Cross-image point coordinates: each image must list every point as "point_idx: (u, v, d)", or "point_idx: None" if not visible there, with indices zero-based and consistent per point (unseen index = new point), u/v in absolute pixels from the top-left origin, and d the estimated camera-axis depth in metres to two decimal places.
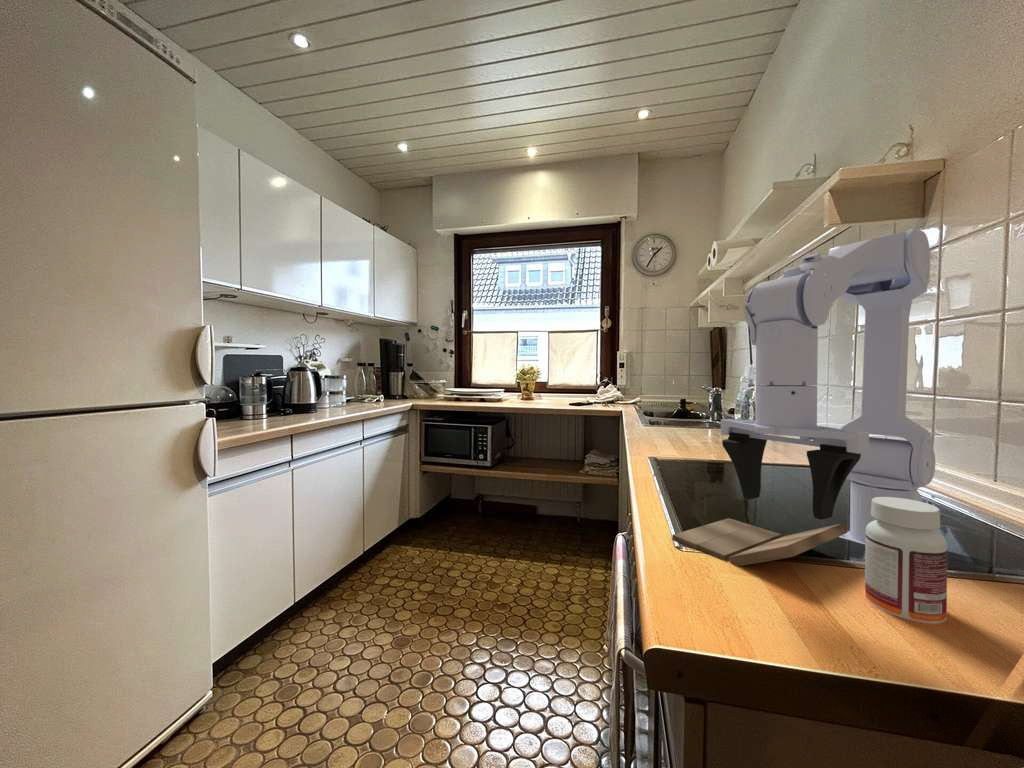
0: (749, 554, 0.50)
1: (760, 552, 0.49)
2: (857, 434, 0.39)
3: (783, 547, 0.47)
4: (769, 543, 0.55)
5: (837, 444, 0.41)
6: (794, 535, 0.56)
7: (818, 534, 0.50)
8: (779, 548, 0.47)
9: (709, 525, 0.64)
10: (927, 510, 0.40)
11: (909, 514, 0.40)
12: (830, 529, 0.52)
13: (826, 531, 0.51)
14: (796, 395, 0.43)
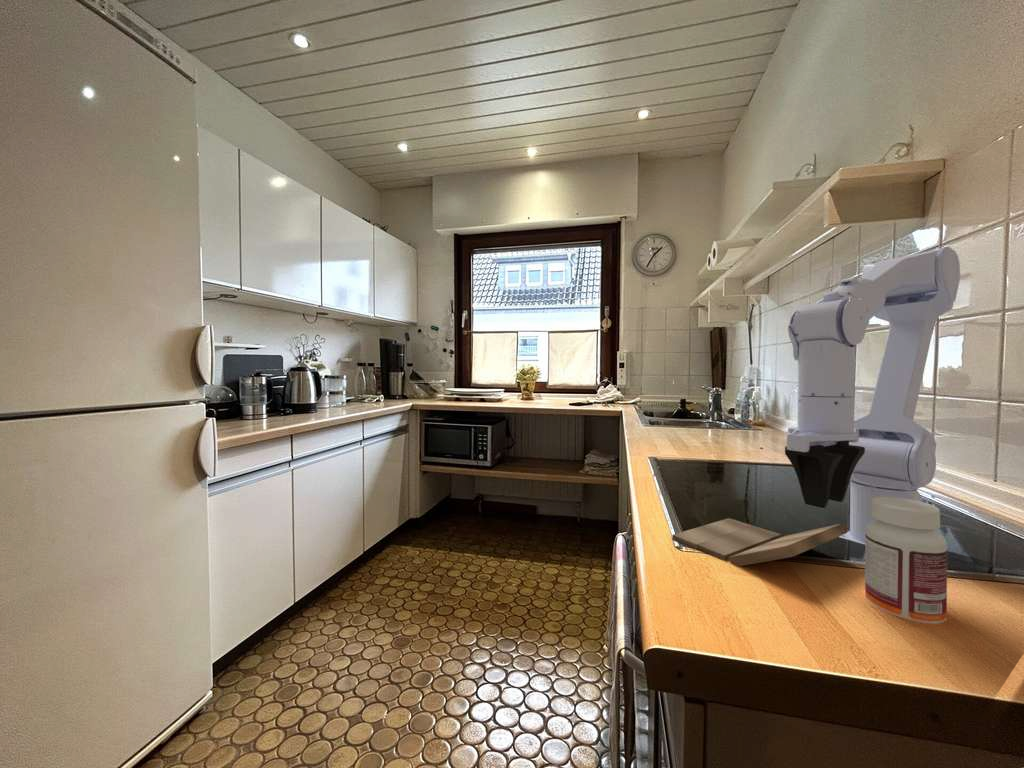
0: (749, 554, 0.50)
1: (760, 552, 0.49)
2: (787, 434, 0.49)
3: (783, 547, 0.47)
4: (769, 543, 0.55)
5: None
6: (794, 535, 0.56)
7: (818, 534, 0.50)
8: (779, 548, 0.47)
9: (709, 525, 0.64)
10: (927, 510, 0.40)
11: (909, 514, 0.40)
12: (830, 529, 0.52)
13: (826, 531, 0.51)
14: (800, 403, 0.52)
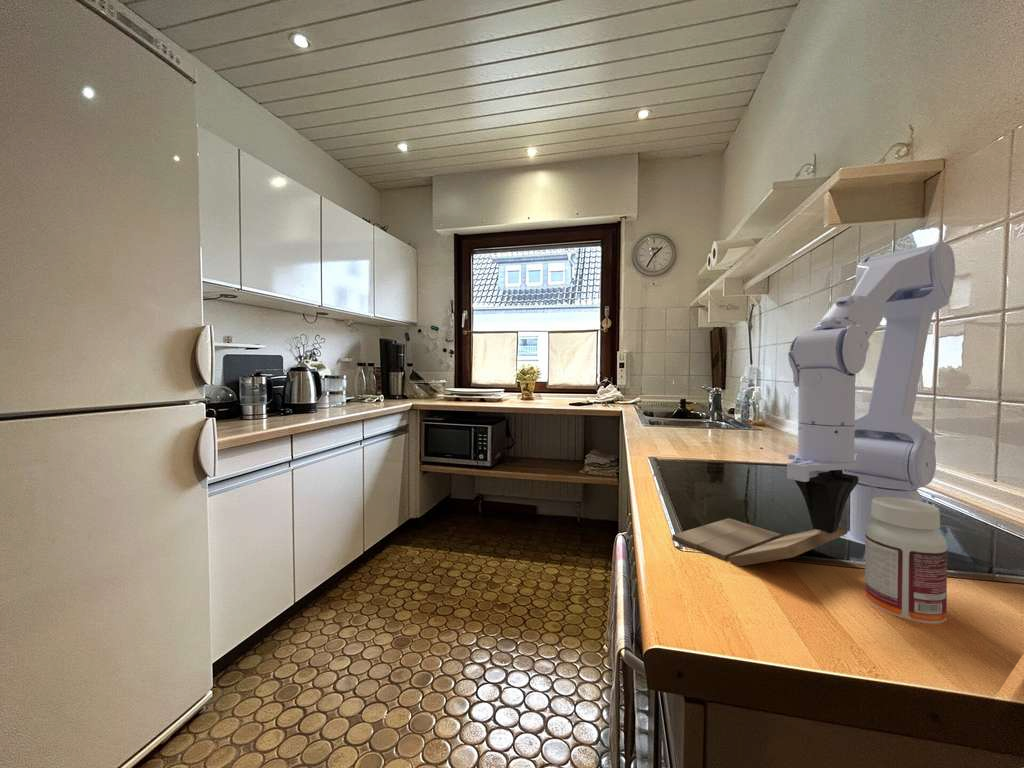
0: (749, 554, 0.50)
1: (760, 552, 0.49)
2: (787, 463, 0.49)
3: (783, 548, 0.47)
4: (769, 543, 0.55)
5: None
6: (794, 535, 0.56)
7: (818, 535, 0.50)
8: (779, 549, 0.47)
9: (709, 525, 0.64)
10: (927, 510, 0.40)
11: (909, 514, 0.40)
12: None
13: (826, 532, 0.51)
14: (800, 430, 0.52)
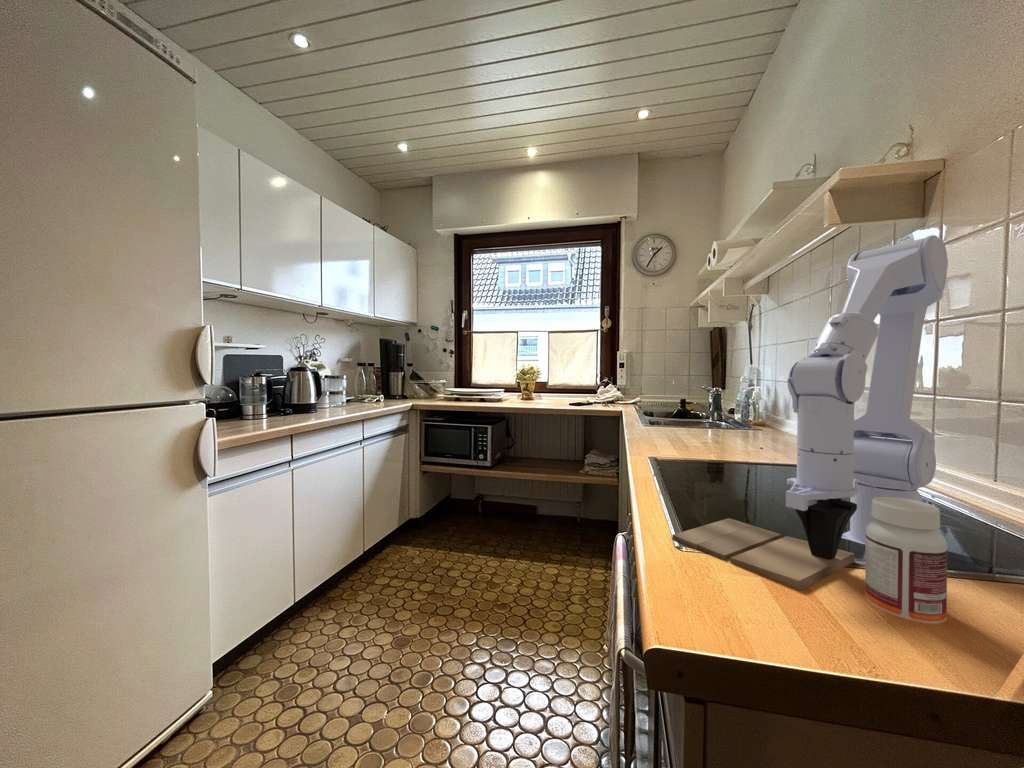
0: (754, 566, 0.50)
1: (767, 571, 0.49)
2: (786, 491, 0.49)
3: (794, 580, 0.46)
4: (773, 549, 0.55)
5: None
6: (799, 545, 0.56)
7: (830, 566, 0.49)
8: (790, 578, 0.46)
9: (709, 525, 0.64)
10: (927, 510, 0.40)
11: (909, 514, 0.40)
12: (842, 560, 0.51)
13: (838, 562, 0.50)
14: (799, 457, 0.52)
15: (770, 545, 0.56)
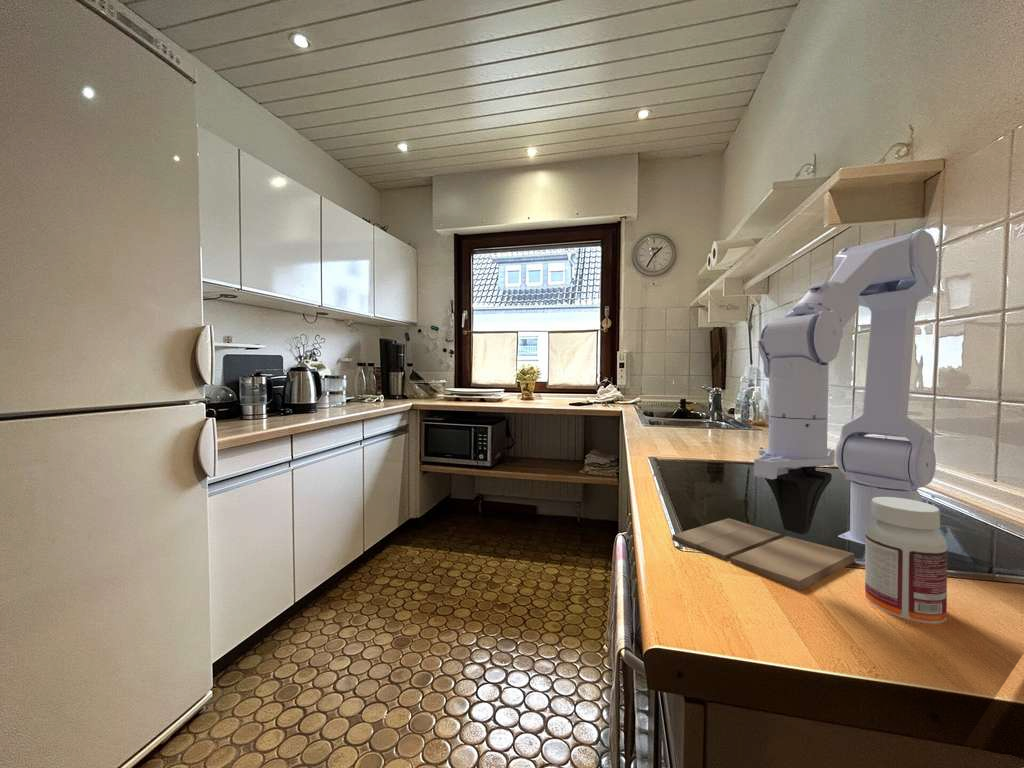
0: (754, 566, 0.50)
1: (767, 571, 0.49)
2: (754, 459, 0.46)
3: (794, 580, 0.46)
4: (773, 549, 0.55)
5: None
6: (799, 545, 0.56)
7: (830, 566, 0.49)
8: (790, 578, 0.46)
9: (709, 525, 0.64)
10: (927, 510, 0.40)
11: (909, 514, 0.40)
12: (842, 560, 0.51)
13: (838, 562, 0.50)
14: (770, 424, 0.49)
15: (770, 545, 0.56)
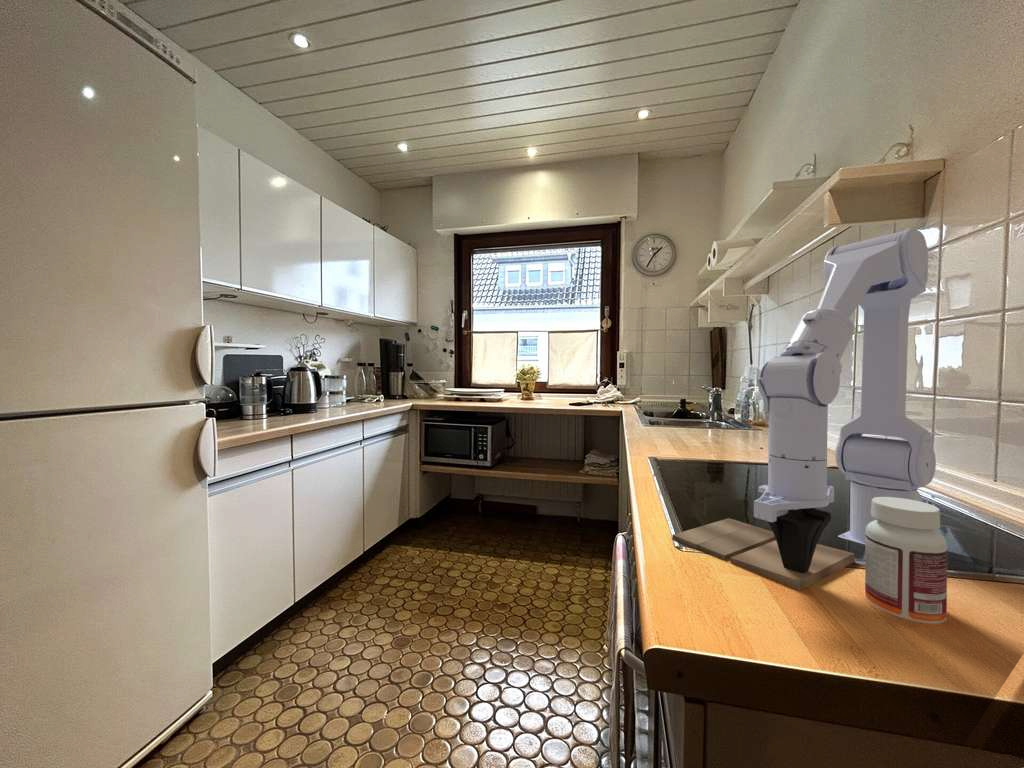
0: (754, 566, 0.50)
1: (767, 571, 0.49)
2: (754, 501, 0.46)
3: (794, 580, 0.46)
4: (773, 549, 0.55)
5: None
6: None
7: (830, 566, 0.49)
8: (790, 578, 0.46)
9: (709, 525, 0.64)
10: (927, 510, 0.40)
11: (909, 514, 0.40)
12: (842, 560, 0.51)
13: (838, 562, 0.50)
14: (770, 463, 0.49)
15: (770, 545, 0.56)
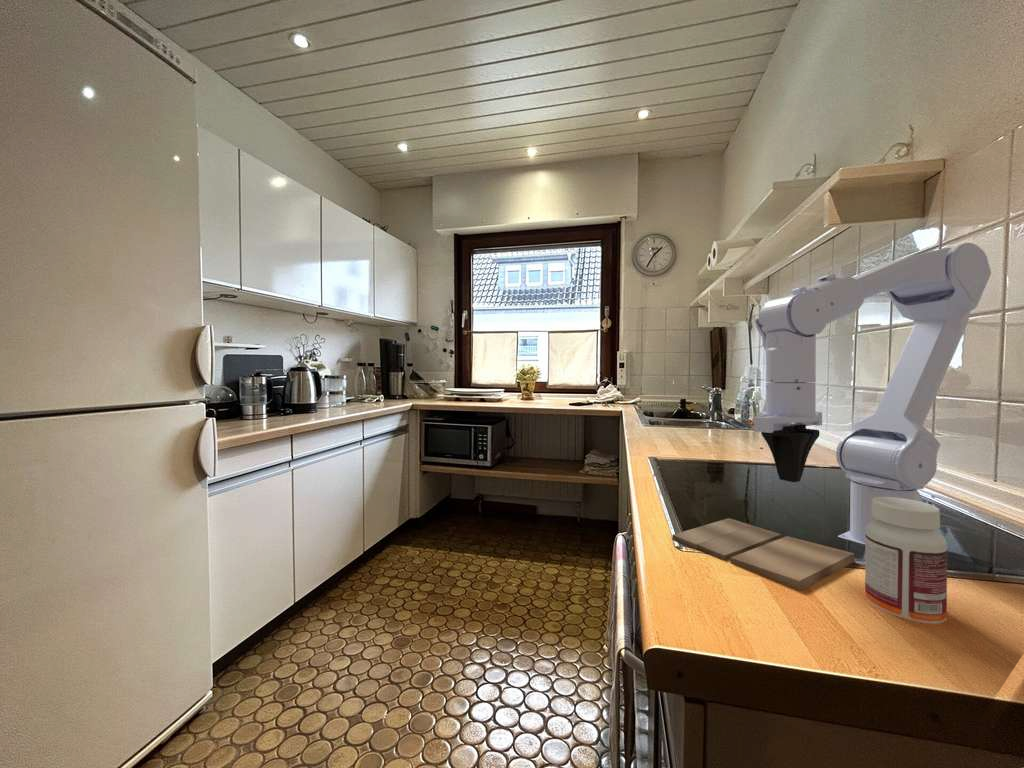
0: (754, 566, 0.50)
1: (767, 571, 0.49)
2: (754, 417, 0.54)
3: (794, 580, 0.46)
4: (773, 549, 0.55)
5: None
6: (799, 545, 0.56)
7: (830, 566, 0.49)
8: (790, 578, 0.46)
9: (709, 525, 0.64)
10: (927, 510, 0.40)
11: (909, 514, 0.40)
12: (842, 560, 0.51)
13: (838, 562, 0.50)
14: (767, 389, 0.57)
15: (770, 545, 0.56)
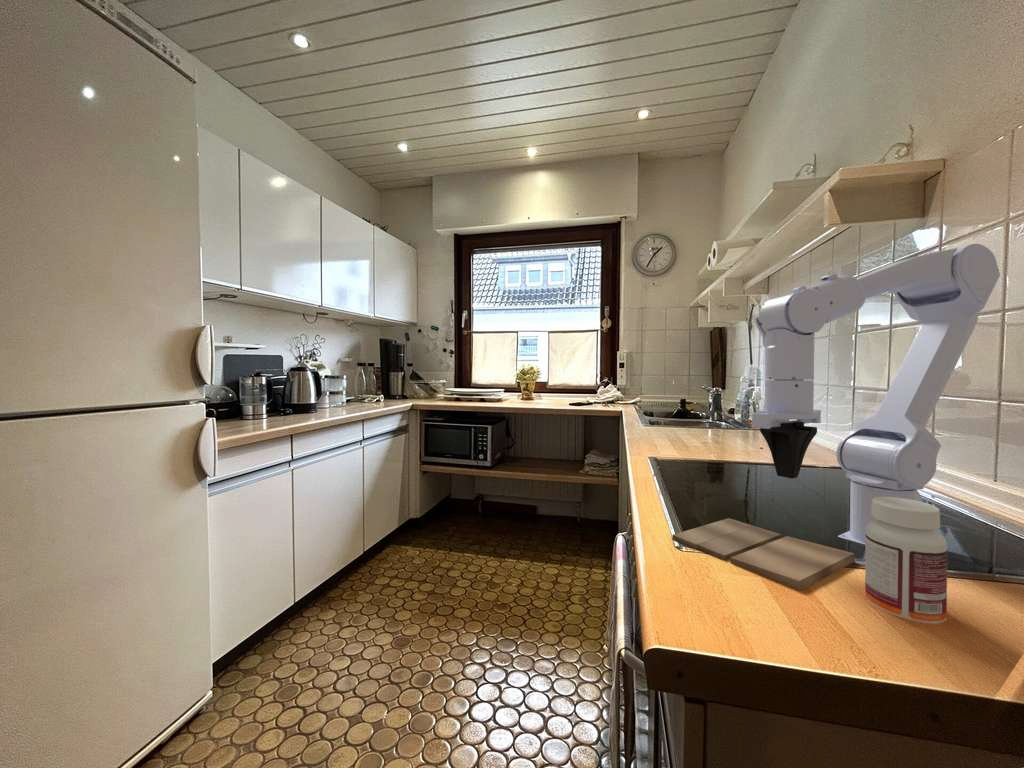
0: (754, 566, 0.50)
1: (767, 571, 0.49)
2: (752, 413, 0.55)
3: (794, 580, 0.46)
4: (773, 549, 0.55)
5: None
6: (799, 545, 0.56)
7: (830, 566, 0.49)
8: (790, 578, 0.46)
9: (709, 525, 0.64)
10: (927, 510, 0.40)
11: (909, 514, 0.40)
12: (842, 560, 0.51)
13: (838, 562, 0.50)
14: (766, 387, 0.58)
15: (770, 545, 0.56)
